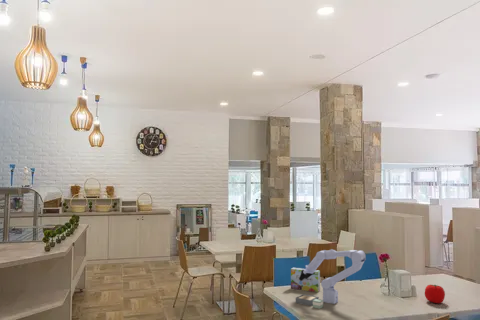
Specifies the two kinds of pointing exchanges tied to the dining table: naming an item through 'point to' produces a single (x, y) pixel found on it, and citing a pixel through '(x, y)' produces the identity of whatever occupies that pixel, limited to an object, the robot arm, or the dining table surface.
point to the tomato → (434, 293)
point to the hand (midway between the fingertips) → (302, 278)
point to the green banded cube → (317, 303)
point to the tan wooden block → (307, 297)
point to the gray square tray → (304, 301)
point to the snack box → (305, 281)
